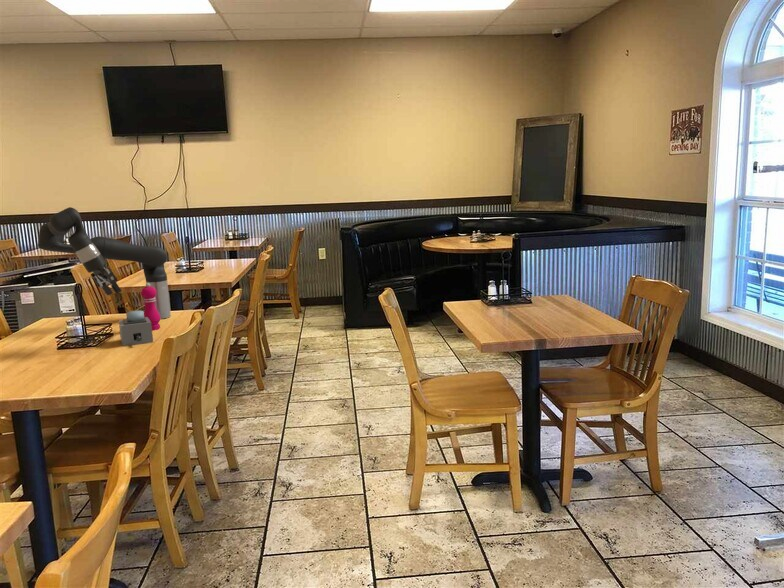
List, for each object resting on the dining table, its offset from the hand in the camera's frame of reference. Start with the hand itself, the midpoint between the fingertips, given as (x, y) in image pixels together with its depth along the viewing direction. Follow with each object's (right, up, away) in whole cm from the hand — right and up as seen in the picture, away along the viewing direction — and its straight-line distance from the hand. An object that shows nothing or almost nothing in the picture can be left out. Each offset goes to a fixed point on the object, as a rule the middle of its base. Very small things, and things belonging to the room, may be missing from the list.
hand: (114, 293), depth 247 cm
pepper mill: (+6, -15, +23) cm, 29 cm away
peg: (+7, -18, +4) cm, 20 cm away
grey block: (+7, -19, +4) cm, 21 cm away
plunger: (+10, -18, -1) cm, 20 cm away
